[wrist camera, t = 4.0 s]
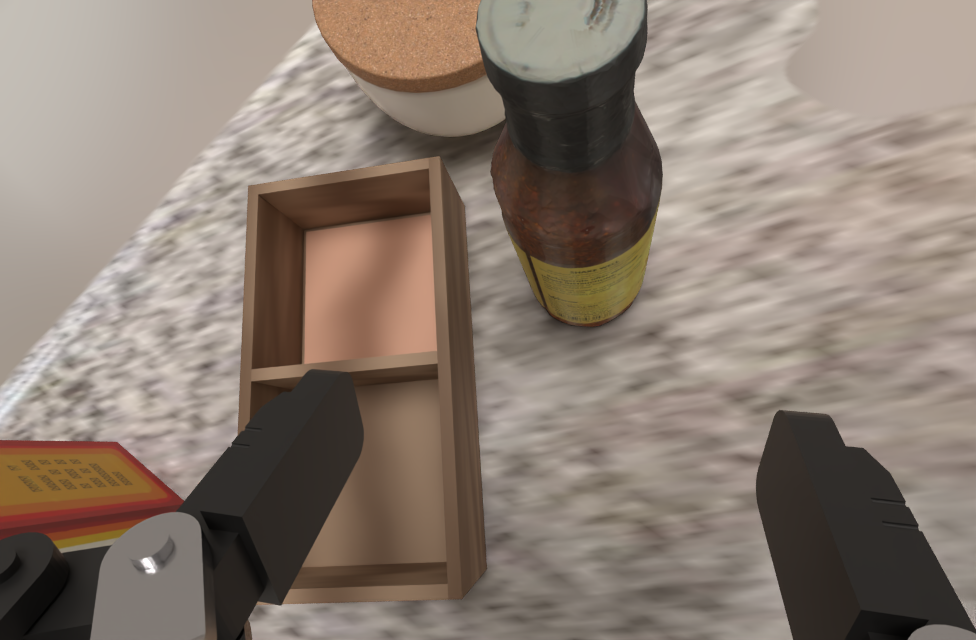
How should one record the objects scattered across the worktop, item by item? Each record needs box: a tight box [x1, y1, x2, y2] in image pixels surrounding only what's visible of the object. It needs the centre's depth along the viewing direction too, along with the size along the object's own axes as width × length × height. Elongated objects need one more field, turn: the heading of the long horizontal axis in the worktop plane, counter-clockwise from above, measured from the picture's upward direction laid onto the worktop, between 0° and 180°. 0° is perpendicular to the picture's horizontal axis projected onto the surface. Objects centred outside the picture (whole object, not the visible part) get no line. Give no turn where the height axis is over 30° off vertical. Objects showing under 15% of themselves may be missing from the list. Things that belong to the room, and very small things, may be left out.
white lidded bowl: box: [312, 0, 506, 137], centre depth 30 cm, size 13×13×11 cm
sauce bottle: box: [475, 0, 663, 327], centre depth 22 cm, size 6×6×20 cm
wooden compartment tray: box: [238, 156, 487, 605], centre depth 29 cm, size 11×21×6 cm, turn 4°
